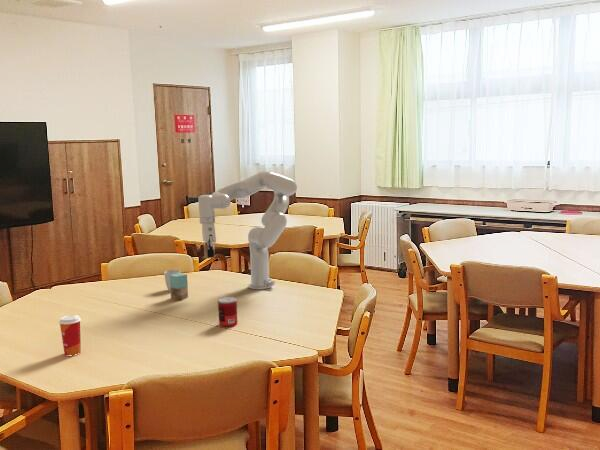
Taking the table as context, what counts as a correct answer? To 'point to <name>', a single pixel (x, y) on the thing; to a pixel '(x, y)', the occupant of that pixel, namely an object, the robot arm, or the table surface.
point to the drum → (206, 251)
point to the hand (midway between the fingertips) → (209, 255)
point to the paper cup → (71, 334)
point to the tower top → (178, 281)
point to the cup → (167, 277)
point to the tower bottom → (179, 293)
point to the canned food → (227, 311)
